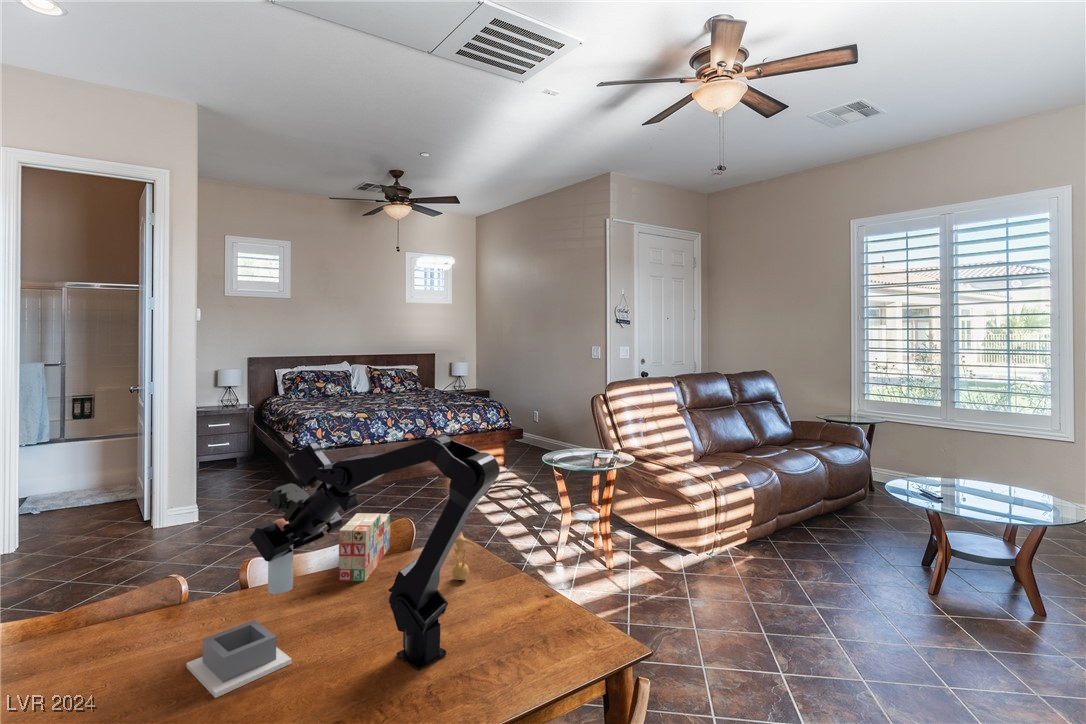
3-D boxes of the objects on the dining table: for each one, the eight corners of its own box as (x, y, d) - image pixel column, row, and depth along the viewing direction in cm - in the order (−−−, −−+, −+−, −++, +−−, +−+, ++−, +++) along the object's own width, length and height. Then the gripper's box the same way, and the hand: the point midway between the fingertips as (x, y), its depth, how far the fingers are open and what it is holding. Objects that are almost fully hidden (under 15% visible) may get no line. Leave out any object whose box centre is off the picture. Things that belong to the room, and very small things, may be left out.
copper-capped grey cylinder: (297, 588, 106) (297, 518, 106) (275, 596, 103) (275, 524, 102) (285, 581, 109) (286, 514, 108) (263, 589, 105) (264, 519, 105)
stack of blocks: (367, 547, 147) (367, 502, 146) (390, 547, 147) (391, 502, 146) (338, 581, 125) (338, 529, 125) (365, 582, 125) (366, 529, 125)
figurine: (478, 576, 130) (479, 526, 129) (477, 587, 124) (478, 535, 123) (443, 576, 129) (444, 526, 129) (440, 587, 123) (441, 535, 123)
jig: (291, 663, 93) (291, 636, 93) (215, 698, 84) (215, 667, 84) (259, 638, 101) (260, 612, 100) (186, 667, 91) (186, 639, 91)
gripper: (331, 462, 113) (288, 509, 116) (258, 484, 95) (210, 537, 99) (362, 504, 110) (317, 550, 114) (293, 534, 93) (243, 587, 97)
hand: (275, 554), depth 106 cm, fingers closed on copper-capped grey cylinder, 4 cm apart
